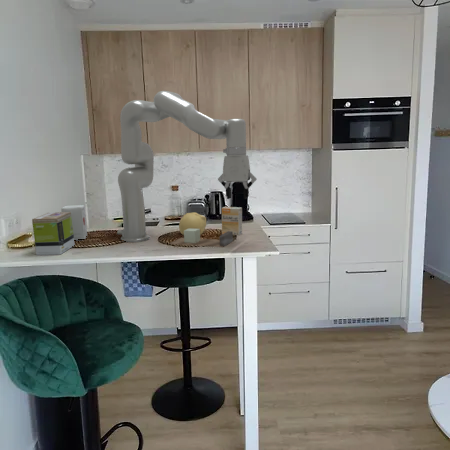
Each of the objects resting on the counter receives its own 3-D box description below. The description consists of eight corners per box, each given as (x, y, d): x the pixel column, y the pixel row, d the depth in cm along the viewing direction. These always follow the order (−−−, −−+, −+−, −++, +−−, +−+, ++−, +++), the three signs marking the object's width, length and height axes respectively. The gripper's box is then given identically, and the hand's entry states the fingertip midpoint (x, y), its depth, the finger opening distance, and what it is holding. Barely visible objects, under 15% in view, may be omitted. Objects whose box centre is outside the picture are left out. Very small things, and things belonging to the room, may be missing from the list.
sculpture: (210, 234, 197) (209, 211, 195) (196, 239, 186) (195, 215, 184) (189, 232, 202) (188, 210, 200) (174, 237, 192) (173, 213, 190)
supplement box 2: (221, 236, 190) (220, 207, 188) (225, 234, 195) (224, 206, 192) (239, 237, 187) (238, 208, 185) (242, 235, 192) (242, 206, 189)
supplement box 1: (84, 240, 191) (81, 207, 188) (63, 241, 189) (60, 208, 186) (87, 236, 199) (85, 204, 197) (67, 237, 198) (64, 205, 195)
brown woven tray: (168, 246, 174) (167, 234, 173) (181, 239, 185) (180, 228, 184) (223, 249, 166) (223, 236, 165) (233, 242, 177) (233, 230, 176)
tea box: (52, 246, 180) (48, 211, 177) (75, 246, 180) (72, 211, 177) (35, 255, 165) (31, 218, 163) (60, 255, 165) (57, 217, 162)
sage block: (184, 242, 175) (183, 230, 174) (189, 239, 180) (188, 228, 179) (195, 243, 174) (195, 231, 173) (200, 240, 178) (199, 228, 177)
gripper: (211, 152, 163) (213, 199, 166) (255, 151, 157) (256, 200, 161) (218, 152, 170) (219, 197, 173) (260, 151, 164) (261, 197, 167)
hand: (237, 198), depth 167 cm, fingers open, 6 cm apart
